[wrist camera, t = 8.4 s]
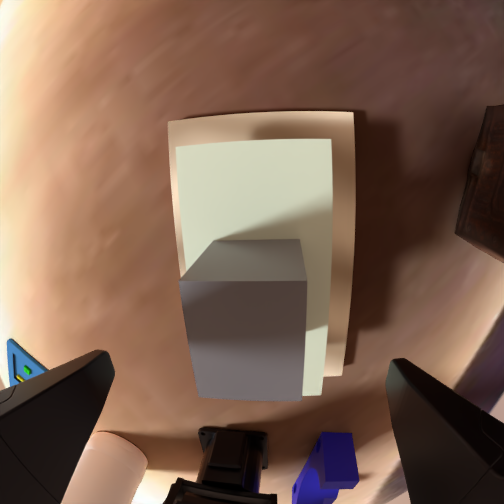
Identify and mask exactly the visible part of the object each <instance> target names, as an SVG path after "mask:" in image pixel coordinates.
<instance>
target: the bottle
mask: <svg viewBox="0 0 504 504" xmlns="http://www.w3.org/2000/svg"><path fill="white" fill-rule="evenodd" d="M147 465H148V461H147V458H146V456H145V455H144V454H143V453H142V452H141V450H140V449H138V448H137V447H136V446H135V445H133V444H132V443H131V442H129V441H127V440H126V439H124V438H122V437H120V436H117V435H115V434H112V433H108V432H96V433H94V434H93V435H92V437H91V438H90V440H89V441H88V442H87V444H86V446H85V449H84V451H83V453H82V455H81V457H80V460H79V462H78V464H77V467H76V469H75V471H74V473H73V476H72V478H71V481H70V483H69V485H68V488H67V490H66V493H65V495H64V497H63V500H62V502H61V504H131V502H132V500H133V497H134V495H135V493H136V490H137V488H138V486H139V484H140V483H141V481H142V479H143V476H144V474H145V469H146V467H147Z"/></svg>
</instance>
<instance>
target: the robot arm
mask: <svg viewBox="0 0 504 504" xmlns="http://www.w3.org/2000/svg"><path fill="white" fill-rule="evenodd" d="M114 376H115V370H114V367H113V364H112V361H111V358H110V355H109V353H108V352H107V351H104V350H94V351H92V352H90V353H87V354H85V355H83V356H81V357H78V358H76V359H74V360H72V361H69V362H67V363H65V364H63V365H60V366H58V367H56V368H53V369H51V370H49V371H46V372H44V373H42V374H39V375H37V376H35V377H32V378H30V379H28V380H25V381H23V382H21V383H18V384H17V385H13V386H11V387H9V388H6V389H4V390H1V391H0V504H61V502H62V500H63V497H64V495H65V493H66V490H67V488H68V485H69V483H70V481H71V478H72V476H73V473H74V471H75V469H76V467H77V464H78V462H79V460H80V457H81V455H82V453H83V451H84V449H85V446H86V444H87V442H88V440H89V438H90V435H91V433H92V431H93V429H94V427H95V425H96V423H97V421H98V418H99V416H100V414H101V412H102V409H103V407H104V404H105V401H106V398H107V396H108V393H109V390H110V387H111V385H112V382H113V379H114ZM386 391H387V397H388V403H389V409H390V416H391V422H392V428H393V432H394V436H395V439H396V443H397V447H398V451H399V455H400V458H401V463H402V467H403V471H404V475H405V479H406V484H407V488H408V493H409V497H410V502H411V504H504V423H502V422H501V421H499V420H498V419H496V418H494V417H493V416H491V415H490V414H488V413H487V412H485V411H484V410H481V409H480V408H479V407H477V406H476V405H474V404H473V403H471V402H470V401H468V400H467V399H465V398H464V397H462V396H461V395H459V394H458V393H456V392H455V391H453V390H452V389H450V388H449V387H447V386H446V385H444V384H443V383H441V382H440V381H438V380H437V379H435V378H434V377H432V376H431V375H429V374H428V373H426V372H425V371H423V370H422V369H420V368H419V367H417V366H416V365H414V364H413V363H411V362H410V361H408V360H407V359H405V358H397V359H393V360H391V362H390V366H389V370H388V374H387V378H386ZM198 434H199V438H200V442H201V445H202V449H203V452H204V456H203V459H202V463H201V466H200V470H199V473H198V477H197V480H196V482H192V481H187V480H184V479H183V478H179V477H178V478H177V481H176V483H174V484H172V485H171V488H170V491H169V493H168V496H167V498H166V500H165V501H164V502H163V504H277V494H262V493H259V488H260V479H261V470H264V469H267V468H268V444H267V434H266V433H264V432H247V431H231V430H219V429H209V428H200V429H199V432H198Z"/></svg>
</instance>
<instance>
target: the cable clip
mask: <svg viewBox="0 0 504 504" xmlns="http://www.w3.org/2000/svg"><path fill="white" fill-rule="evenodd" d="M358 482H359V475H358V468H357V462H356V456H355V450H354V444H353V438H352V433H335V432H321V435H320V437H319V439H318V441H317V443H316V445H315V447H314V449H313V451H312V453H311V454H310V456H309V458H308V460H307V462H306V464H305V466H304V468H303V470H302V471H301V473H300V475H299V477H298V479H297V480H296V482H295V484H294V486H293V487H292V504H332V503H333V502H334V501H335V500H336V498H337V495H338V491H339V489H353V488H354V487H355V486H356V485H357V483H358Z"/></svg>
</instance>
